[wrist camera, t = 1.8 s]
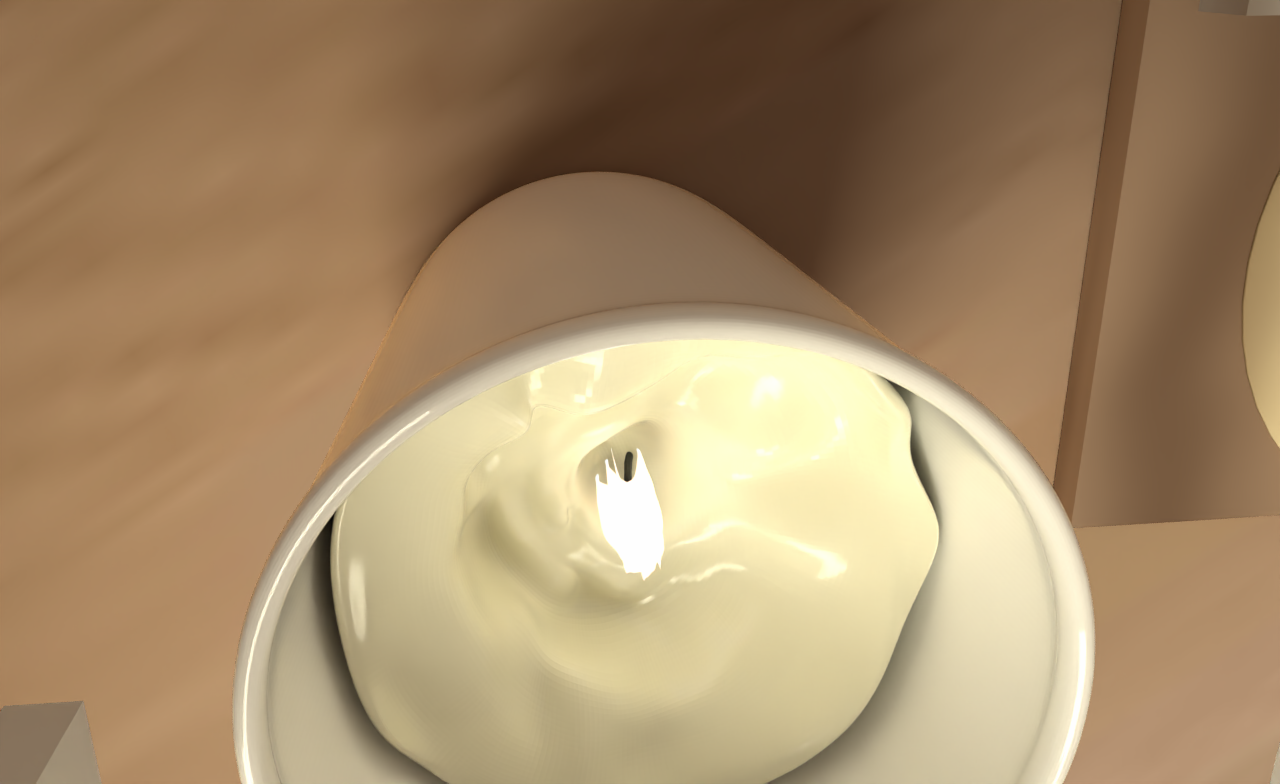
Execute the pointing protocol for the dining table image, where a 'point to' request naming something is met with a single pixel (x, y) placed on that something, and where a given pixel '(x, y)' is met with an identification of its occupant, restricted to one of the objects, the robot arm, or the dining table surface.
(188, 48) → the dining table surface
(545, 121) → the dining table surface
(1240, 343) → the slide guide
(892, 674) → the candle holder
